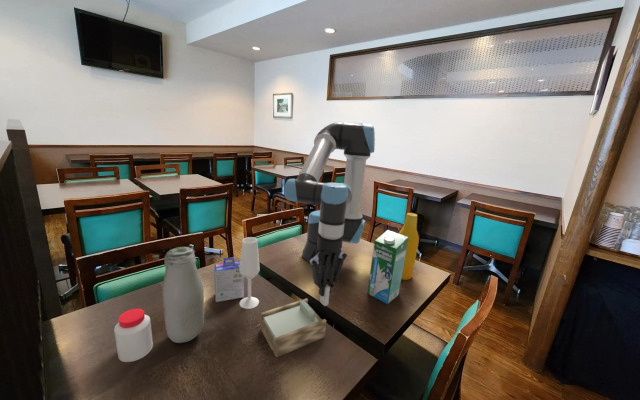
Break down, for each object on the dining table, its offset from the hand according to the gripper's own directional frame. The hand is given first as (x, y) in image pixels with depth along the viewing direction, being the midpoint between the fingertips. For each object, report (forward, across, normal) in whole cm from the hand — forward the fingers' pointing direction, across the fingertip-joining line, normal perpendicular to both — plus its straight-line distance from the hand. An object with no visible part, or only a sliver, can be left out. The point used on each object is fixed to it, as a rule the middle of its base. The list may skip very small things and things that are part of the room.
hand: (324, 303), depth 85 cm
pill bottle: (+8, +51, -14) cm, 53 cm away
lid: (+3, +11, 0) cm, 12 cm away
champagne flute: (+8, +18, -20) cm, 28 cm away
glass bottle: (+8, +39, -13) cm, 42 cm away
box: (+7, +11, 0) cm, 13 cm away
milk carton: (+7, -30, -2) cm, 31 cm away
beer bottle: (+7, -49, -9) cm, 51 cm away
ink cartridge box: (+8, +23, -27) cm, 36 cm away
